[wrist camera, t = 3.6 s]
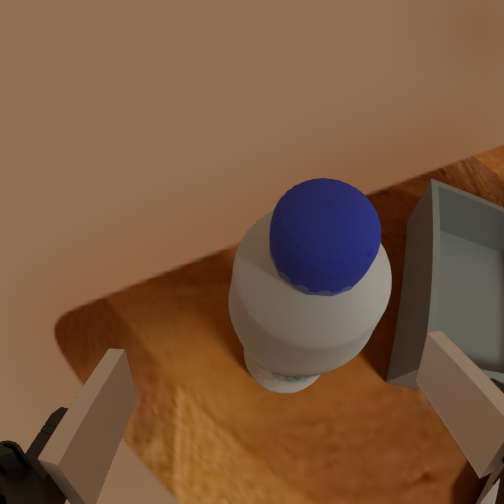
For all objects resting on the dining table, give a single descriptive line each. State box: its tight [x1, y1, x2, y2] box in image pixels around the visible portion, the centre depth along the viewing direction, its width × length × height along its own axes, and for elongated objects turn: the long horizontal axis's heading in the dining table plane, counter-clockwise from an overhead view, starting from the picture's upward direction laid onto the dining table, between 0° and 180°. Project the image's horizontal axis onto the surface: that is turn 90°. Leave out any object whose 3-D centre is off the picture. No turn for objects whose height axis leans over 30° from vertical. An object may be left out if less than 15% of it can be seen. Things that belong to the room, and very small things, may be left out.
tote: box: [386, 179, 504, 389], centre depth 24 cm, size 18×18×7 cm
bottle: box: [228, 178, 392, 393], centre depth 17 cm, size 7×7×20 cm
